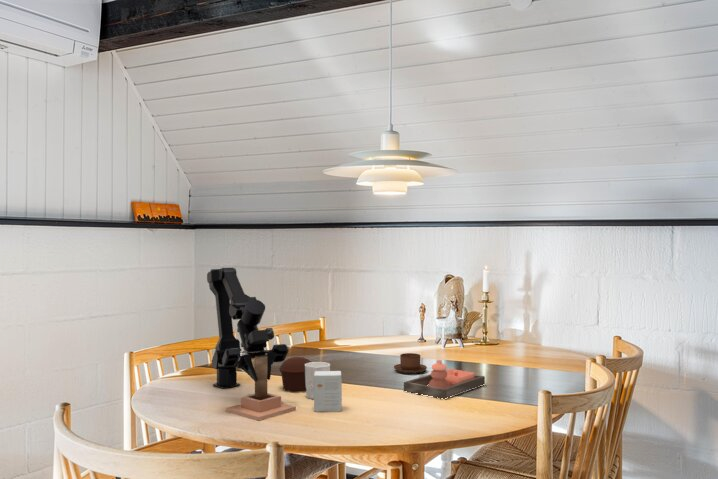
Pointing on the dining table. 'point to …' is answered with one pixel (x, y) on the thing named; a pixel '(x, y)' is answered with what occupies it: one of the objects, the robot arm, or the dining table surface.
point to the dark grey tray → (421, 388)
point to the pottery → (448, 376)
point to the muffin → (294, 374)
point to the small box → (327, 391)
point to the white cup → (309, 375)
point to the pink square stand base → (260, 407)
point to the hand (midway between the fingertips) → (262, 379)
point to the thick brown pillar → (261, 377)
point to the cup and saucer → (410, 364)
